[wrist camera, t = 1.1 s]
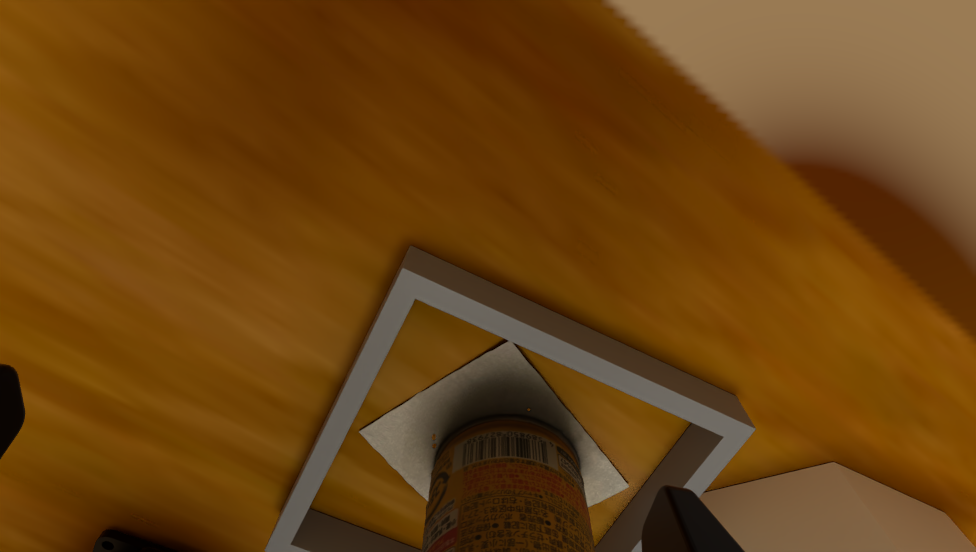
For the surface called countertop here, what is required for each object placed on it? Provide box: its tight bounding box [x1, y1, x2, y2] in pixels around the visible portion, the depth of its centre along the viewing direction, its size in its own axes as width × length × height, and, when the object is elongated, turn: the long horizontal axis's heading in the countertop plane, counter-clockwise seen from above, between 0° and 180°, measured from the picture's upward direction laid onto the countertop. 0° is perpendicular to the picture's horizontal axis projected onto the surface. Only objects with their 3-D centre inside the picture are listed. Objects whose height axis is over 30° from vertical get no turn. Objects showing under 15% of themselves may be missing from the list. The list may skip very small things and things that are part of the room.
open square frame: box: [265, 245, 756, 552], centre depth 25 cm, size 14×14×2 cm
